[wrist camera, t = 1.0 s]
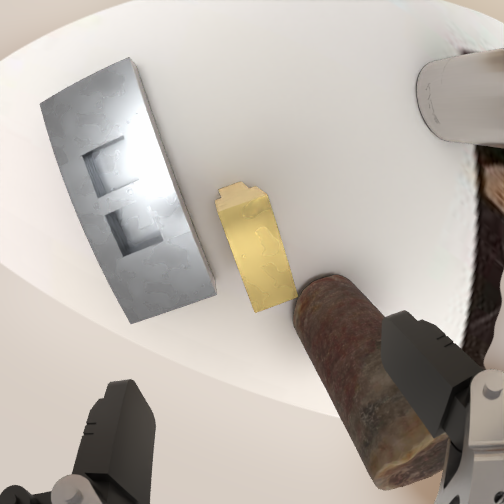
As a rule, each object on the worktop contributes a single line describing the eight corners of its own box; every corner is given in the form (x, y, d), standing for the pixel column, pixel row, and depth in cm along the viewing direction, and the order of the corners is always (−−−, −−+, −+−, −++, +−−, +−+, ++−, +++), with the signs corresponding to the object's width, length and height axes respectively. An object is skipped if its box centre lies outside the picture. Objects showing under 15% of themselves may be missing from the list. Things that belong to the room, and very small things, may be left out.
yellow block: (246, 179, 26) (267, 194, 18) (271, 253, 28) (298, 296, 20) (212, 191, 26) (217, 212, 18) (239, 265, 28) (254, 313, 20)
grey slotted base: (136, 66, 21) (129, 57, 18) (214, 279, 28) (216, 294, 25) (55, 107, 21) (39, 103, 18) (136, 307, 28) (130, 324, 25)
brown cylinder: (343, 339, 33) (439, 480, 14) (281, 337, 31) (356, 510, 13) (365, 276, 31) (501, 404, 12) (299, 268, 29) (422, 434, 10)
